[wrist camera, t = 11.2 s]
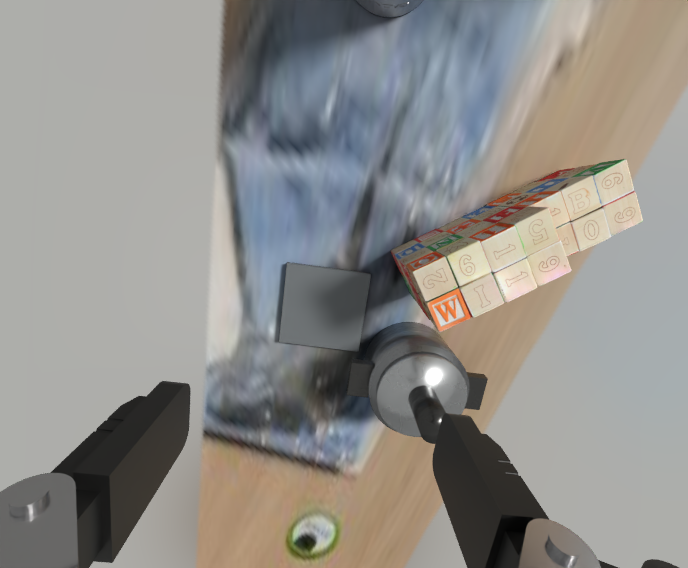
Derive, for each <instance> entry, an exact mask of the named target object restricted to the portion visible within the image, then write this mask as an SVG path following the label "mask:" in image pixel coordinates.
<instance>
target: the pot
mask: <svg viewBox="0 0 688 568" xmlns="http://www.w3.org/2000/svg"><path fill="white" fill-rule="evenodd" d="M422 351H424V352H432V353H436V354H439V355H442V356H444V357H445V358H447V359H448V360H450V361H451V362H452V363H453V364H454V365H455V366H456V367H457V369H458V370H459V371H460V373H461V374H462V376H463V378H464V380H465V382H466V386H467V402H466V405H465V408H467V409H476V410H479V409H480V405H481V402H482V398H483V394H484V391H485V387H486V383H487V380H488V379H487V377H486V376H485V375H484V374H477V373H468V372H466V370H465V368H464V367H463V365H462V364H461V362H460V361H459V360H458V358H457V357H456V356H455V354H454V353H453V352H452V351H451V349H450V348H449V347H448V345H447V344H446V343H445V342H444V340H443V339H442V338H441V336H440V335H439V334H438V333H437V332H436V331H434V330H433V329H431V328H430V327H428V326H426V325H423V324H420V323H415V322H402V323H397V324H394V325H391V326H389V327H387V328H385V329H383V330H382V331H381V332H379V333H378V334H377V335H376V336H375V337H374V338H373V339H372V341H371V342H370V344H369V346H368V348H367V350H366V353H365V357H364V360H359V359H352V360H351V366H350V373H349V379H348V385H347V395H351V396H360V397H368V395H369V398H370V403H371V406H372V409H373V411H374V413H375V415H376V416H377V417H378V419H379V420H380V421H381V422H382V423H383V424H385V425H386V426H387V427H389V428H390V429H392V428H391V427H390V426H389V425H388V424H387V423H386V422H385V421H384V420H383V418H382V416H381V414H380V412H379V409H378V404H377V399H376V387H377V383H378V380H379V378H380V376H381V374H382V372H383V371H384V370H385V368H386V367H387V366H388V365H389V364H390V363H392V362H393V361H394V360H396V359H397V358H399V357H401V356H403V355H406V354H409V353H413V352H422ZM392 430H394V429H392ZM394 431H395V430H394Z"/></svg>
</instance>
